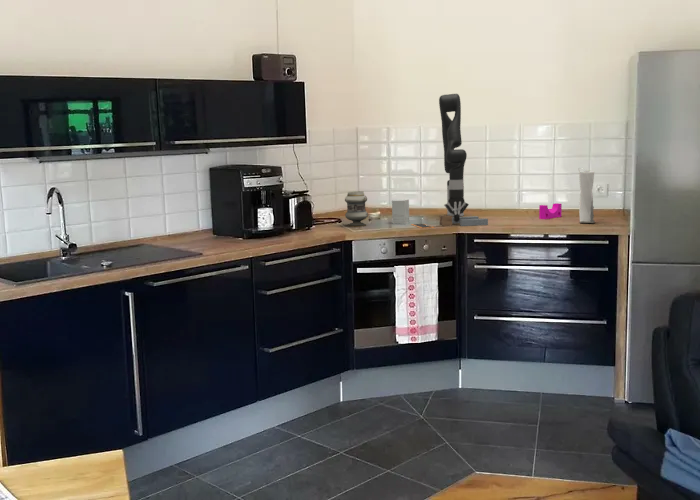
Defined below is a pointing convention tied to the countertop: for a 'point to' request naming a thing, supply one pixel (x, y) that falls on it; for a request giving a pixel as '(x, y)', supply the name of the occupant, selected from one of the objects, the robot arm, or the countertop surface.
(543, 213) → the toy block
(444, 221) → the walnut cube
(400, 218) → the supplement box
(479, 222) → the grey flat slab
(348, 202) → the apothecary jar
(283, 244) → the countertop surface
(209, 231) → the countertop surface
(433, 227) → the trap pit
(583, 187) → the skyscraper
